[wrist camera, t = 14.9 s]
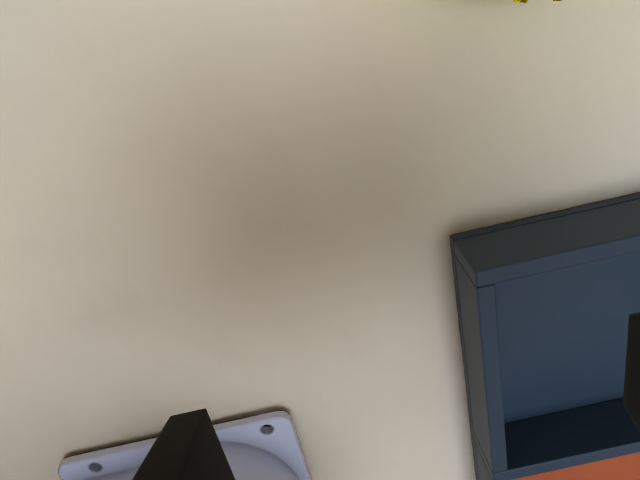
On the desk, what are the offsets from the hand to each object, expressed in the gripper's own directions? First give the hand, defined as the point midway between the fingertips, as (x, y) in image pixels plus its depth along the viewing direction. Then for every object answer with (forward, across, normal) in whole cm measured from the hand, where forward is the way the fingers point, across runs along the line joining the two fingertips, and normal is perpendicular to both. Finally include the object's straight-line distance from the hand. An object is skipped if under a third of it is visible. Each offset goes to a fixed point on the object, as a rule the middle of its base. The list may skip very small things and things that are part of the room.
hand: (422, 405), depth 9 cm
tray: (+9, -8, +12) cm, 17 cm away
